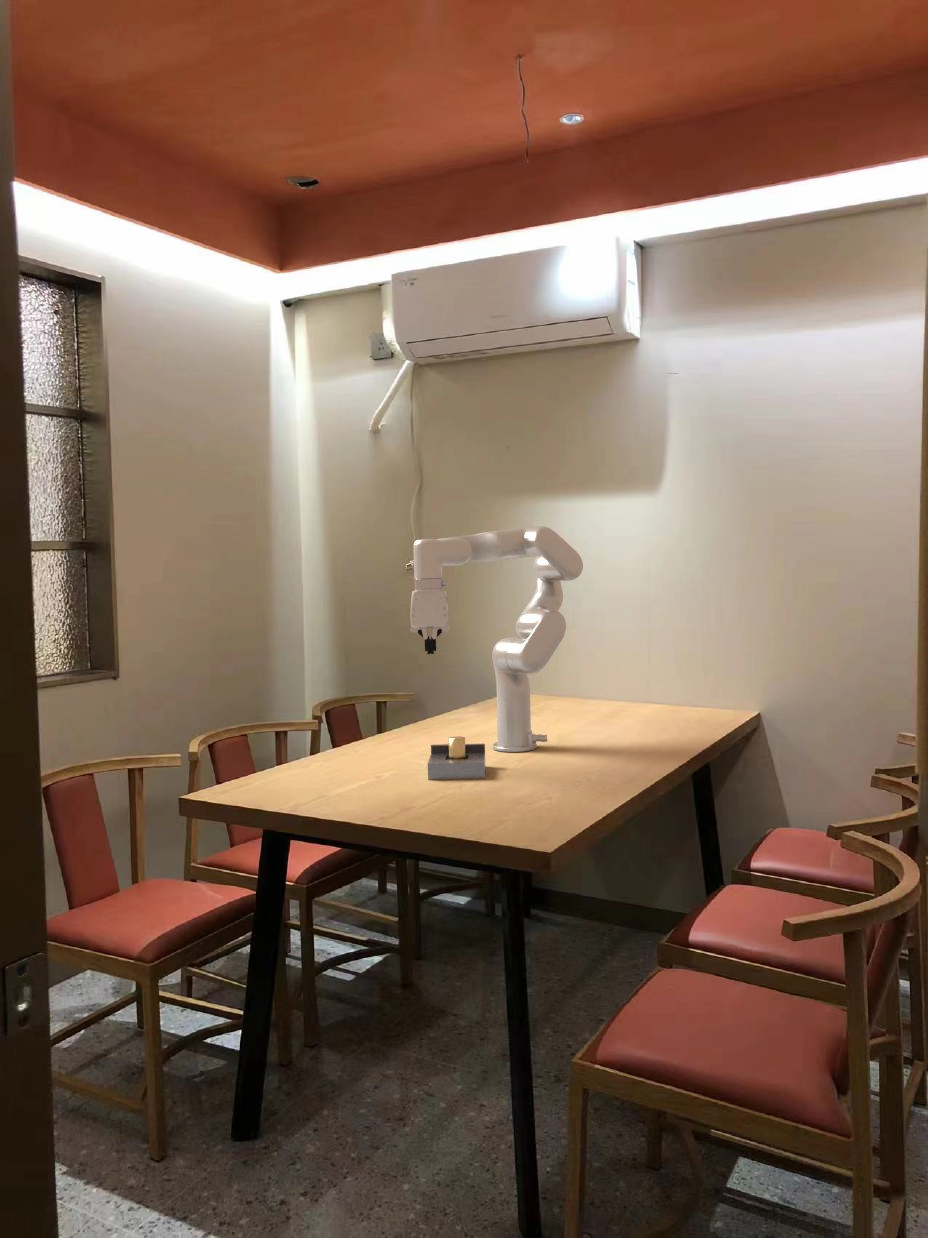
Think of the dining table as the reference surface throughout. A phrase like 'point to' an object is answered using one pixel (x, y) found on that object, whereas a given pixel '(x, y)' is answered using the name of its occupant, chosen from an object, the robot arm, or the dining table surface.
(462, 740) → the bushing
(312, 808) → the dining table surface
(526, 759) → the dining table surface
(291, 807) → the dining table surface
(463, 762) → the jig
